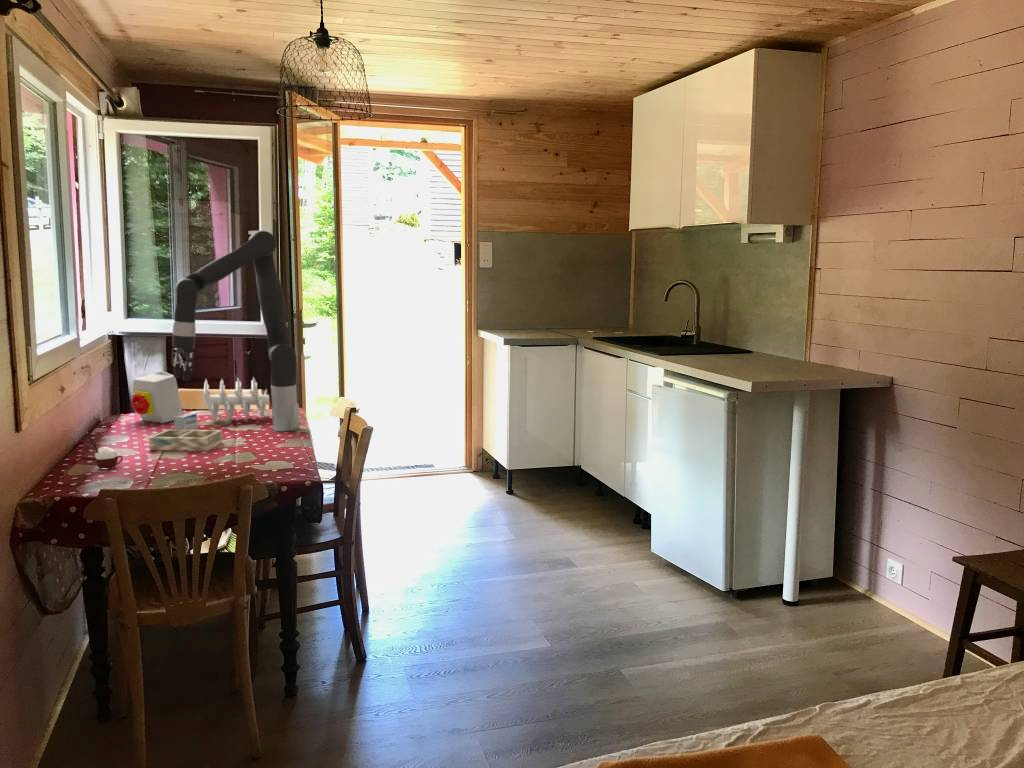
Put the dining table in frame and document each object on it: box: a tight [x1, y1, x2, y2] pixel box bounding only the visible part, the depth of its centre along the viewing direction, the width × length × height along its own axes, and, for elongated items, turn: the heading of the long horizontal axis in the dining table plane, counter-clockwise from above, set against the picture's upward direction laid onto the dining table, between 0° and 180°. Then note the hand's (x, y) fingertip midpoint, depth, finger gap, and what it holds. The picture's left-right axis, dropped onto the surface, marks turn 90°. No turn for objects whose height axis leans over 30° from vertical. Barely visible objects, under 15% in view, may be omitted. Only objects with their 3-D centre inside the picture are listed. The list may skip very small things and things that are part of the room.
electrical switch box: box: [131, 371, 184, 424], centre depth 323 cm, size 15×15×20 cm
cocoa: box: [85, 431, 124, 469], centre depth 250 cm, size 10×6×12 cm, turn 104°
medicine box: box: [173, 412, 199, 430], centre depth 293 cm, size 8×4×9 cm, turn 168°
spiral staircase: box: [203, 376, 270, 424], centre depth 324 cm, size 18×18×25 cm
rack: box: [148, 429, 223, 452], centre depth 280 cm, size 20×13×4 cm, turn 87°
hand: (181, 379), depth 290 cm, fingers open, 8 cm apart
